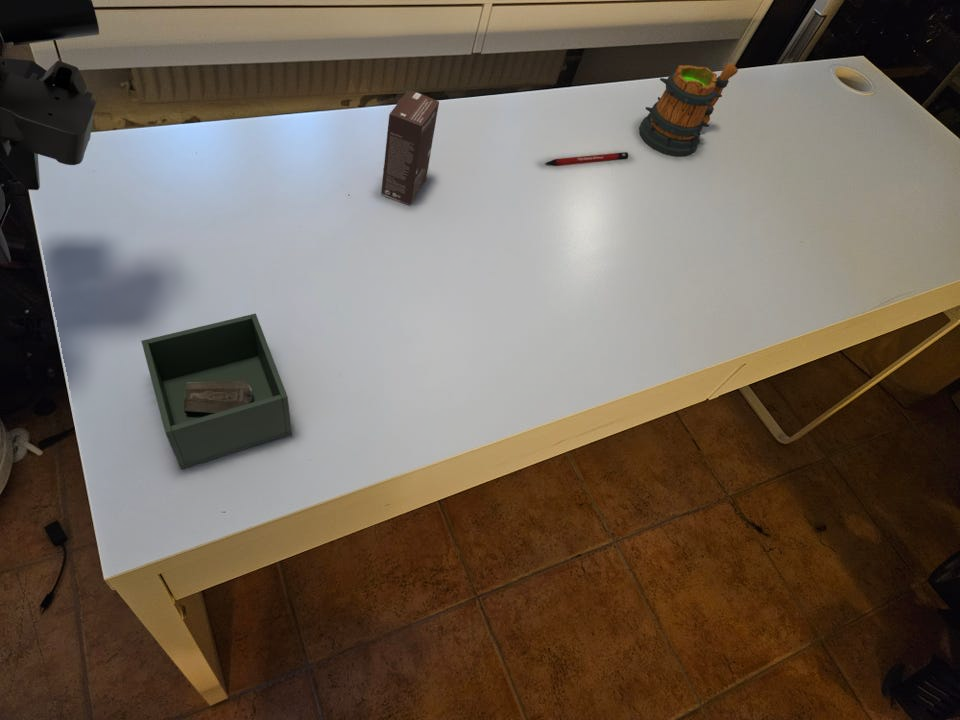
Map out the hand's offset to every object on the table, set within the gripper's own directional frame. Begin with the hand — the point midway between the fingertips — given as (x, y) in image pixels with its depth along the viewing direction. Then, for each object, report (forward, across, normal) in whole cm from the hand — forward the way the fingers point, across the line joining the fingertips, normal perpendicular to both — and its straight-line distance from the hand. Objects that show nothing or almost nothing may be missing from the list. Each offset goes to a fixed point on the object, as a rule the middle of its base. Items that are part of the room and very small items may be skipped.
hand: (19, 223), depth 57 cm
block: (+11, -12, -16) cm, 23 cm away
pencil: (+12, +30, -63) cm, 70 cm away
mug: (+11, +38, -79) cm, 89 cm away
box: (+12, +22, -36) cm, 43 cm away
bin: (+12, -12, -16) cm, 23 cm away
